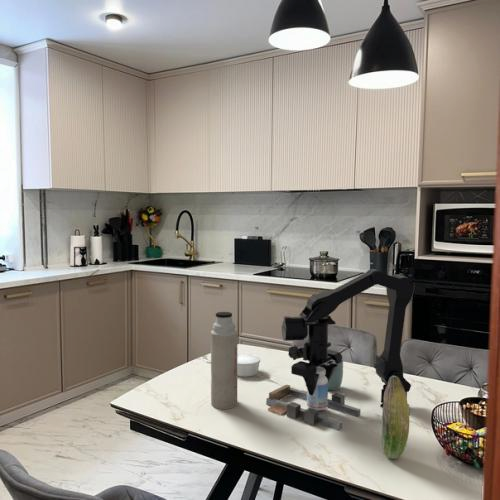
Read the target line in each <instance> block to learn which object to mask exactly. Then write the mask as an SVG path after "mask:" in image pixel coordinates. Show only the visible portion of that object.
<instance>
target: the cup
mask: <svg viewBox="0 0 500 500" xmlns="http://www.w3.org/2000/svg"><path fill="white" fill-rule="evenodd" d="M332 361H333V364H336V363H335V360H332ZM343 377H344V358H342V362H341V363H339V364H337V367H336V368H335V370H334V372H333V374H332V376H331V378H330V379H329V381H328V391H336V390H338V389H339V388H340V387H341V386H342V383H343Z"/></svg>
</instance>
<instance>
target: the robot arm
mask: <svg viewBox="0 0 500 500" xmlns="http://www.w3.org/2000/svg"><path fill="white" fill-rule="evenodd" d="M376 285H377V286H378V285H379V286H381V287H384V288H385V289H386V297H387V299H388V304H389V305H388V314H387V322H386V329H385V336H384V337H385V338H384V343H383V344H384V346H383V350H382V353H381V354H380V355H375V364H374V366H373V369H375V373H376V375H377V376H378V377H379V378H380V380H381V382H382V383H384V384H383V386H382V389H381V390H380V391H381V392H380V393H381V395H380V403H381V404H380V405H379V407H380V408H383V404H384V402H383V401H384V392H385V389H386V387H387V384H388V381H389V378H390V377H391V376H397V377H398V378H399V379H400V382H401V384H402V386H403V388H404V390H405V393H406V397H407V398H408V392H410V390H411V387H412V384H411V383H410V382H409V381H408V380H407V379H406V378H405V377H404V365H403V362H402V361H403V360H402V357H401V348H402V343H403V334H404V327H405V319H406V309H407V306H409V303H410V302H411V301H412V299H413V295H414V292H415V287H416V285H415V282H414V281H413V280H412V279H411V278H410V277H407V276H404V275H400V274H392V275H390V274H386V273H383V272H382V271H380V270H377V269H374V268H370V269H368V270H367V271H365V272H364V273H362V274H360V275H359V276H357V277H355V278H352V279H351V280H349V281H347V282H346V283H344V284H342V285H340V286H338V287H336V288H334V289H331V290H327V291H322V292H319V293H315V294H311V296H309V297H308V298H307V302H306V305H305V306H304V308H303V309H302V310H301V312H300V313H299V316H288V315H287V316H285V315H284V316H283V320H282V325H281V337H282V340H283V341H285V342H286V341H288V342H290V341H304V340H305V339H306V338H307V341H306V342H305V343H304V344H303V345H301V346H300V345H299V346H297V345H294V346H290V347H288V356H289V358H290V359H292V361H295V360H298V359H302V360H303V361H302V360H300V361H297V362H296V363H293V364H292V365H291V370H290V371H291V374H292V375H295V376H299V377H301V378H303V380H304V384H305V385H306V390H307V389H308V392H309V394H310V395H313V394H314V391H315V388H316V385H317V381H318V378H319V374H316V372H317V367H322V368H324V369H325V370H326V371H325V373H326V374H325V376H326V378H327V379H328V381H329V379H330V378H331V376H332V374H333V372H334V370H335V368H336V367H337V364H339V363H341V362H342V359H343V355H342V353H341V352H339V351H336V350H331V349H329V348H330V347H331V346H332V343H331V342H329V325H331V326H332V325H336V321H335V320H334V319H332V317H331V314H332V313H333V312H334V311H336V310H337V308H338V307H339V306H340V305H341V304H342V303H344V302H346V301H348V300H351V299H352V298H353V297H355V296H357V295H359V294H361V293H363V292H364V291H367V290H368V289H370V288H372V287H374V286H376ZM332 360H335V363H336V364H333V361H332ZM307 361H308V362H307ZM409 406H410V405H409V403H408V407H409Z"/></svg>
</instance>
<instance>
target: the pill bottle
mask: <svg viewBox="0 0 500 500" xmlns="http://www.w3.org/2000/svg"><path fill="white" fill-rule="evenodd" d="M325 371H326V370H325V369H324V368H322V367H317V372H316V374H319V378H318V381H317V385H316V388H315V391H314V394H313V395H310V394H309V392H308V389H307V388H306V392H307V400H306V406H307V407H308V408H312V409H315V410H318V411H324V410H326V409H327V408H328V407H327V406H328V399H329V398H328V397H329V394H328V391H329V390H328V379H327V378H326V376H325V374H326V373H325Z"/></svg>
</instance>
